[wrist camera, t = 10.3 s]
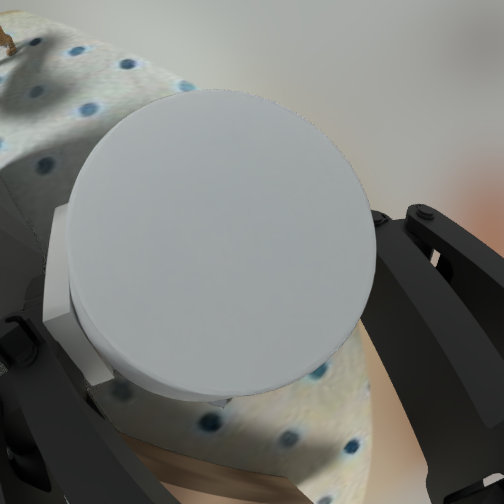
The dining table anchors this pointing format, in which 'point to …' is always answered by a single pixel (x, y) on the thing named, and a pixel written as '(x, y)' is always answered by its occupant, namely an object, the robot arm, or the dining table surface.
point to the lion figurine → (7, 42)
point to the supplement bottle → (218, 246)
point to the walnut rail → (213, 479)
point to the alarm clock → (15, 255)
